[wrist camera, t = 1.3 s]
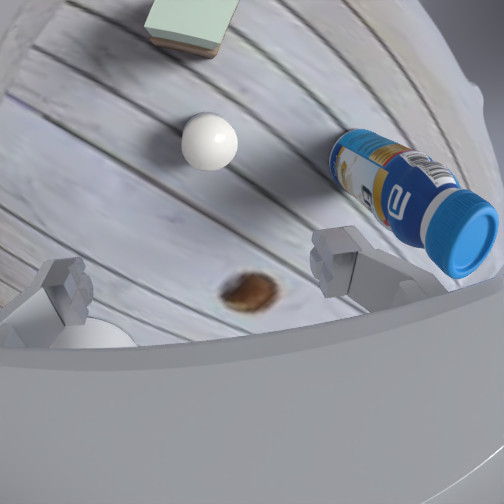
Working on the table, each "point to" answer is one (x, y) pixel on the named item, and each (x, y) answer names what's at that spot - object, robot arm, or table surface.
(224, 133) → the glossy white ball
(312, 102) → the table surface
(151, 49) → the table surface
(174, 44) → the tower base
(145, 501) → the robot arm
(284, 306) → the table surface
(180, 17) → the tower top
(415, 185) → the beverage bottle
